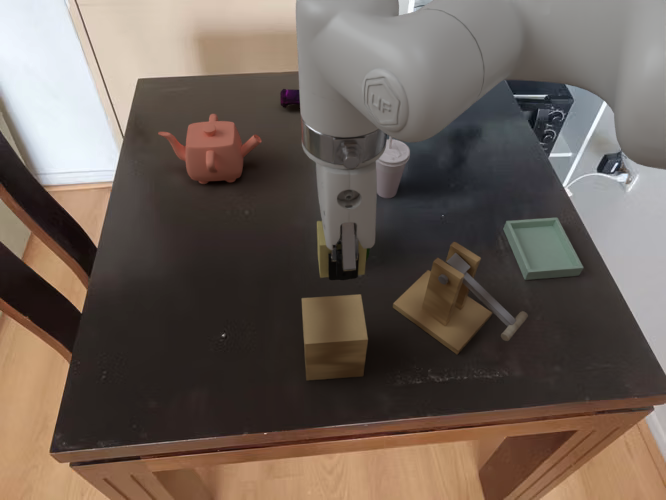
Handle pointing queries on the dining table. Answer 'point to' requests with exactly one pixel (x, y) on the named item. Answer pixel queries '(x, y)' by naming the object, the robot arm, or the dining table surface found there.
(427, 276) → the slicer
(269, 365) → the dining table surface
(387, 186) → the smoothie
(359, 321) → the stand
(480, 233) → the dining table surface
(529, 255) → the butter dish
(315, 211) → the dining table surface
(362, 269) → the butter
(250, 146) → the teapot
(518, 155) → the dining table surface
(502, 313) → the lever
